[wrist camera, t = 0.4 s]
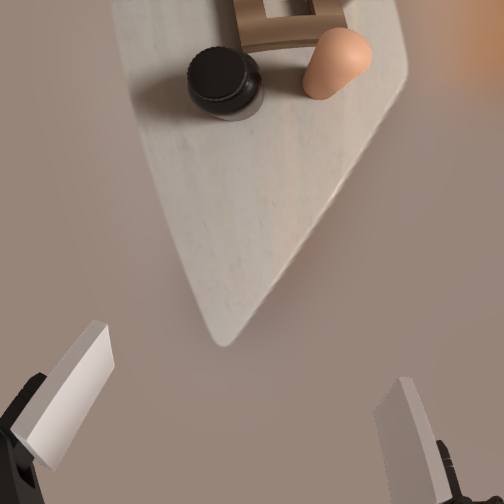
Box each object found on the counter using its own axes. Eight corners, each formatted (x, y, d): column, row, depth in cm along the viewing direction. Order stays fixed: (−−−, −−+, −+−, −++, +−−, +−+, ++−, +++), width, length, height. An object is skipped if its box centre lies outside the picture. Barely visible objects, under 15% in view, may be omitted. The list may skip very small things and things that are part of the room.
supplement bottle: (240, 133, 32) (220, 130, 21) (196, 100, 31) (156, 85, 20) (277, 90, 29) (277, 65, 18) (232, 57, 28) (209, 21, 17)
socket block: (230, -20, 24) (227, -30, 21) (324, -27, 22) (327, -38, 19) (244, 53, 28) (241, 46, 25) (344, 45, 26) (350, 38, 23)
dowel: (299, 69, 28) (313, 27, 15) (333, 67, 28) (365, 28, 15) (304, 101, 30) (322, 76, 17) (338, 98, 29) (376, 76, 16)
